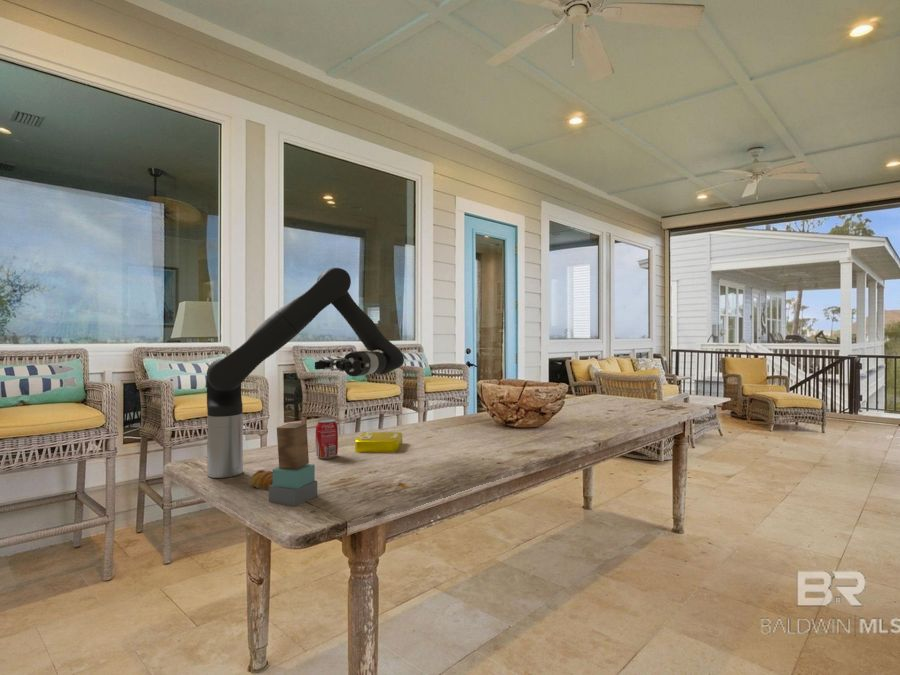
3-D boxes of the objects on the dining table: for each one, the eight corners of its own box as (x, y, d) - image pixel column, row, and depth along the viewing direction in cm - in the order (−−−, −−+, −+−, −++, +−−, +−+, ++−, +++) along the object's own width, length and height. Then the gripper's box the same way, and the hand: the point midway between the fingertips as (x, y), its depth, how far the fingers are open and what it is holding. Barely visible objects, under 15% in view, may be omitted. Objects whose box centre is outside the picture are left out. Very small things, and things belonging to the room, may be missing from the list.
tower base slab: (268, 502, 118) (268, 485, 118) (292, 492, 125) (292, 477, 125) (295, 507, 114) (294, 490, 114) (317, 496, 122) (317, 480, 122)
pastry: (292, 485, 131) (292, 471, 131) (273, 492, 125) (273, 478, 125) (266, 480, 135) (266, 467, 135) (246, 488, 129) (246, 473, 129)
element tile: (397, 453, 166) (397, 439, 166) (353, 453, 166) (353, 439, 166) (403, 443, 181) (403, 430, 181) (362, 443, 181) (362, 430, 181)
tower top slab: (272, 486, 117) (272, 469, 117) (291, 478, 124) (291, 462, 124) (297, 488, 115) (297, 471, 115) (314, 480, 122) (314, 464, 122)
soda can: (324, 453, 165) (324, 418, 165) (342, 455, 162) (342, 419, 162) (311, 458, 158) (311, 421, 158) (329, 460, 156) (329, 422, 156)
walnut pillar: (279, 468, 118) (276, 427, 118) (291, 462, 123) (289, 422, 122) (297, 469, 117) (294, 428, 116) (308, 463, 122) (306, 423, 121)
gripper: (341, 350, 153) (307, 352, 138) (381, 351, 147) (350, 353, 132) (341, 374, 153) (307, 378, 138) (381, 376, 147) (349, 380, 132)
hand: (328, 366), depth 135 cm, fingers open, 8 cm apart
